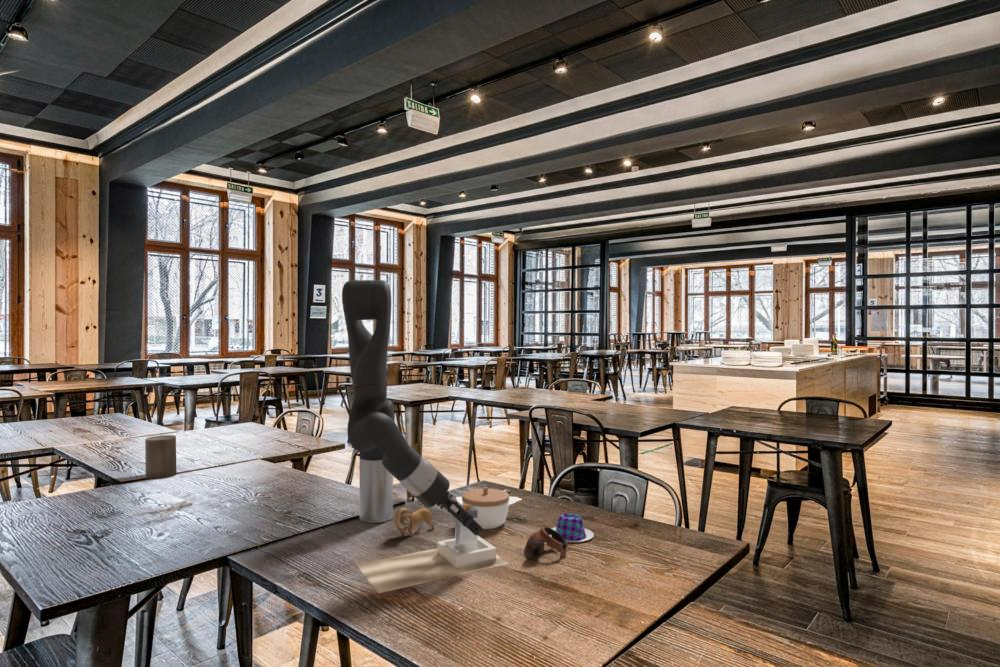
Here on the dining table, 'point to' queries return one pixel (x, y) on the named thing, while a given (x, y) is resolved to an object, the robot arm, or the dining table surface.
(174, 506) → the pliers
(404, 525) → the lion figurine
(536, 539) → the pottery mug
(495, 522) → the lidded bowl
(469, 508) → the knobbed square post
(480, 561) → the box
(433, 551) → the board
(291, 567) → the dining table surface
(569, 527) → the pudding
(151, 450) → the pillar candle
